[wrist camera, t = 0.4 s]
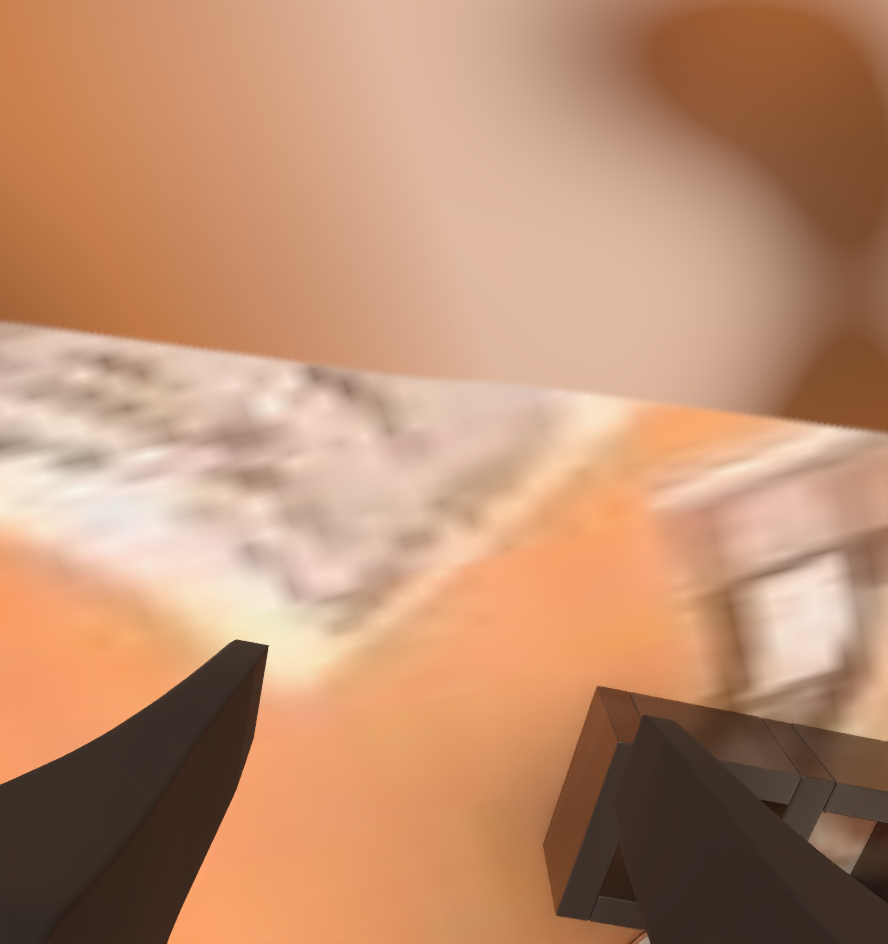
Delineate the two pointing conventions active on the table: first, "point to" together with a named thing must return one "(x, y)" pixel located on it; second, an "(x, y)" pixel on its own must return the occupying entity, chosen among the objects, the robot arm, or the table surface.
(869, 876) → the rack
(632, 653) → the table surface
